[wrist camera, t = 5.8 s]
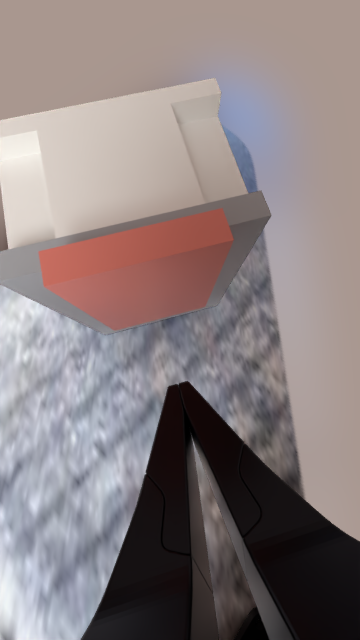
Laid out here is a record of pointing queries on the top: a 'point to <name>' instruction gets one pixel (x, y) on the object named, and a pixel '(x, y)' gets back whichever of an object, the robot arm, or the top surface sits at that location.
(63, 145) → the box
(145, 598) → the robot arm
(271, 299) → the top surface
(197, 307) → the button
